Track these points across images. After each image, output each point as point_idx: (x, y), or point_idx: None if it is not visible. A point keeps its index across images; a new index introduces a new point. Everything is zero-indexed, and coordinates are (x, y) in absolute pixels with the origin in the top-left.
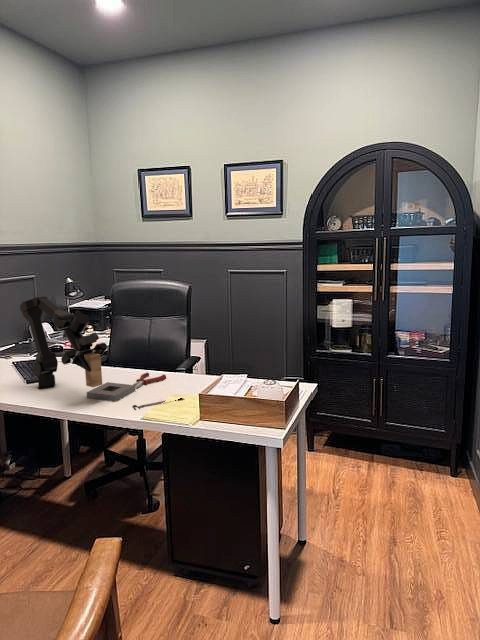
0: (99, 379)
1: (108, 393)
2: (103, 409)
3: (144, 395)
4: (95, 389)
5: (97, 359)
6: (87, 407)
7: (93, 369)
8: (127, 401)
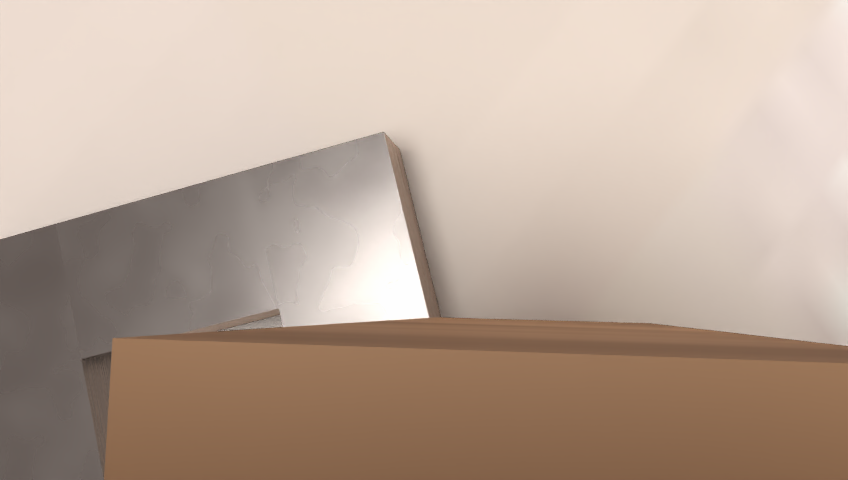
0: (483, 320)
1: (369, 297)
2: (678, 51)
3: (60, 30)
4: None
5: (443, 336)
6: (755, 292)
7: (673, 332)
8: (315, 33)
